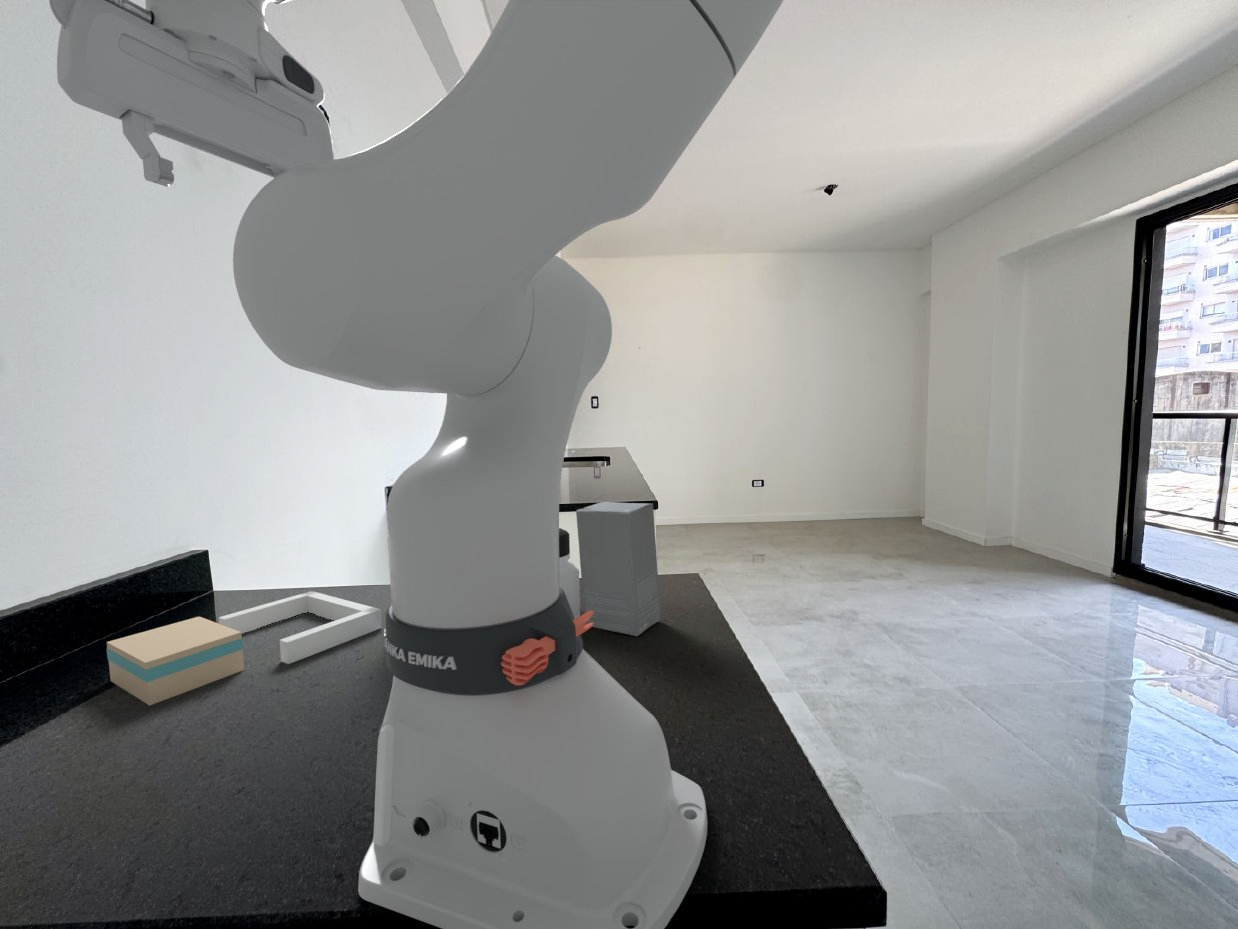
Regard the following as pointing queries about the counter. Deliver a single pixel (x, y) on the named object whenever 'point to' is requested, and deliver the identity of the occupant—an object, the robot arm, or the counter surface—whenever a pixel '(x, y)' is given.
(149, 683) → the carton
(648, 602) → the skincare box
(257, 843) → the counter surface
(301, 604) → the frame
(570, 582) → the medicine bottle
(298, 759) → the counter surface
